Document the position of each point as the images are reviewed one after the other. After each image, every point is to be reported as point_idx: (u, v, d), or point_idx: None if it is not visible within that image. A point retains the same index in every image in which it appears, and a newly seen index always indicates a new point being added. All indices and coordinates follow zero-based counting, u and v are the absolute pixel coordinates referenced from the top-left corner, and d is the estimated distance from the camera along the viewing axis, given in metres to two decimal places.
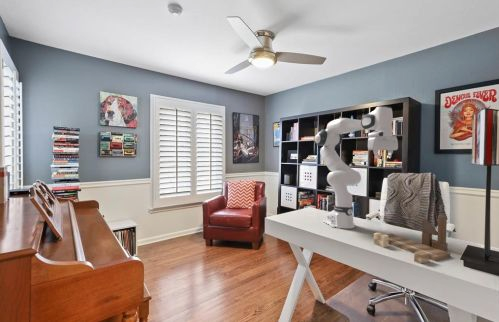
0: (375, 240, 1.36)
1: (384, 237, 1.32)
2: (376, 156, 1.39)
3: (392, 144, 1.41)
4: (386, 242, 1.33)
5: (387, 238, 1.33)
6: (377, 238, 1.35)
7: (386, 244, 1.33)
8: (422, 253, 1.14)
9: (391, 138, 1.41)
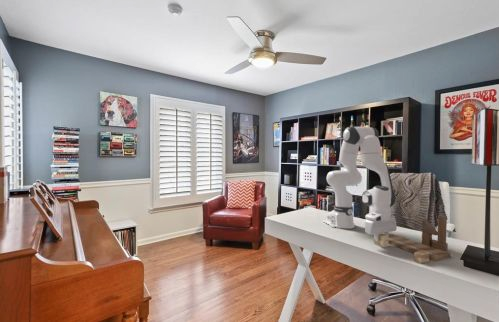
0: None
1: (384, 237, 1.32)
2: (376, 239, 1.34)
3: (391, 226, 1.35)
4: (386, 242, 1.33)
5: (387, 238, 1.33)
6: None
7: (386, 244, 1.33)
8: (422, 253, 1.14)
9: (389, 220, 1.35)
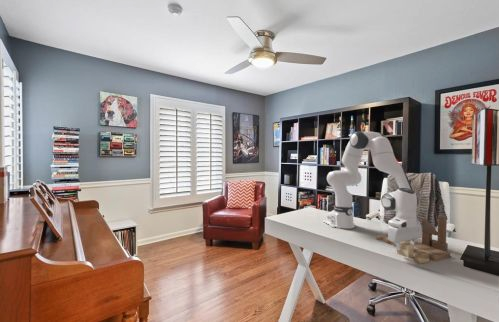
0: None
1: (409, 246, 1.19)
2: (398, 248, 1.20)
3: (416, 233, 1.22)
4: (411, 252, 1.20)
5: (413, 248, 1.20)
6: None
7: (411, 254, 1.20)
8: (422, 253, 1.14)
9: (415, 226, 1.22)
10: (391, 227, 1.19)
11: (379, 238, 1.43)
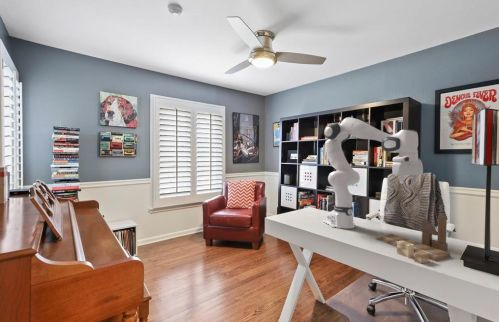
0: (398, 249, 1.23)
1: (409, 246, 1.19)
2: (401, 181, 1.34)
3: (417, 169, 1.36)
4: (411, 252, 1.20)
5: (413, 248, 1.20)
6: (401, 247, 1.22)
7: (411, 254, 1.20)
8: (422, 253, 1.14)
9: (416, 163, 1.36)
10: (395, 162, 1.33)
11: (379, 238, 1.43)
